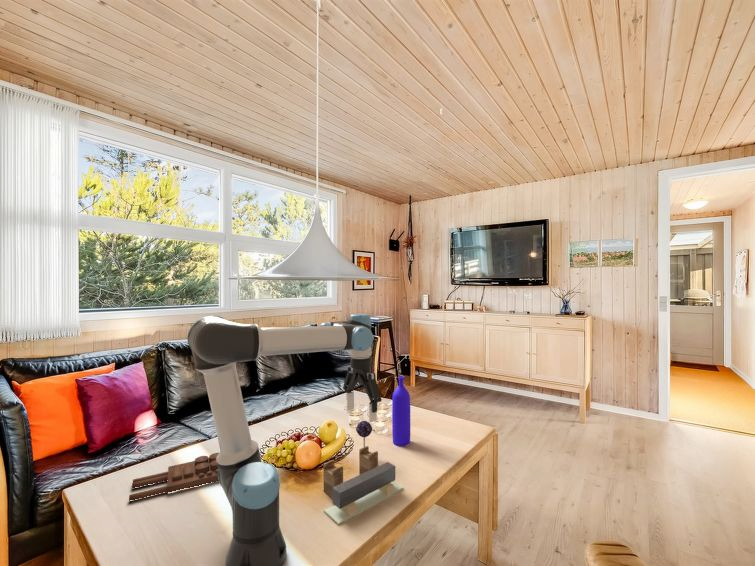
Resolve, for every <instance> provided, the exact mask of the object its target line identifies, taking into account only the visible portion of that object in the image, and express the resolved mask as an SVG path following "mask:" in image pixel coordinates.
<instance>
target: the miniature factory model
mask: <svg viewBox="0 0 755 566" xmlns="http://www.w3.org/2000/svg"><path fill="white" fill-rule="evenodd" d="M219 453H220V452H214V453H212V454H210V455H208V456H207V455H200V456H198V457H196V458H195V459H194V460H193V461H189V462H188V461H187V462H185V463H184V462H183V463H180V464H179V463H178V464H175V465H170V466H168V468H167V471H165V472H160V473H155V474H151V475H147V476H143V477H137V478H134V479H132V483H131V489H132V488H135V487H140V486H144V485H148V484H153V483H158V482H163V481H167V480H168V481H167V482H166V483H167V484H166V485H165V486H160V487H157V488H153V489H148V490H144V491H139V492H136V493H131V494H129V496H128V502H129V501H130V500H135V499H139V498H144V497H147V496H151V495H155V494H159V493H163V492H167V493H168V492H172V491H176V490H180V489H184V488H190V487H194V486H199V485H202V484H206V483H211V482H215V483H217V482H216V481H219V479H218V466H217V461H216V458H217V456H218V454H219ZM163 483H164V482H163ZM211 484H212V483H211ZM167 493H166V494H167Z"/></svg>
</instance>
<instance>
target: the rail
mask: <svg viewBox="0 0 755 566" xmlns="http://www.w3.org/2000/svg"><path fill="white" fill-rule="evenodd" d="M393 481H394V482H396V465H394V464H392V463H390V462H389V461H386V462H384V463H381V465H378V467H376V468H373V469H371V470H369V471H367V472H365V473H363V474H360V475H355V477H352V478H349V479H348V480H345V481H343V483H341V484H339V485H337V486H335V487H333V499H332V504H333V505H335V506H337V507H338V508H339V509H341V508H343V507H345V506H347V505H349V504H351V503H353V502H354V501H356V500H358V499H360V498H362V497H364V496H366V495H368V494H370V493H372V492H374V491H376V490H378V489H379V488H381V487H383V486H385V485H387V484H389V483H391V482H393Z"/></svg>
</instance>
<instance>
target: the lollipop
mask: <svg viewBox="0 0 755 566" xmlns="http://www.w3.org/2000/svg"><path fill="white" fill-rule="evenodd" d="M355 431H356V432H357V436H360V437H361V438H363V447H366V438H367V437H369V436H370V435H371V433H372V432H373V426H372V424H371V422H369V421H367V420H361V421H359V423H358V424H357V426H356V428H355Z"/></svg>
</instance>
